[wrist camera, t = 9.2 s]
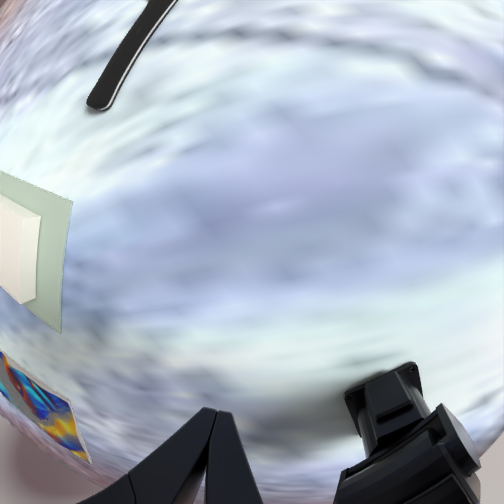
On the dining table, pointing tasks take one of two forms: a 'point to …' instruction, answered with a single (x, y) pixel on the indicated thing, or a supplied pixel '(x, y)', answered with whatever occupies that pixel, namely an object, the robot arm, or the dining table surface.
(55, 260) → the sage rubber mat
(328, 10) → the dining table surface
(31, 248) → the standing glazed tile
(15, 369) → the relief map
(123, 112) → the dining table surface
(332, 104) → the dining table surface
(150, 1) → the kitchen cleaver
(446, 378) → the dining table surface
